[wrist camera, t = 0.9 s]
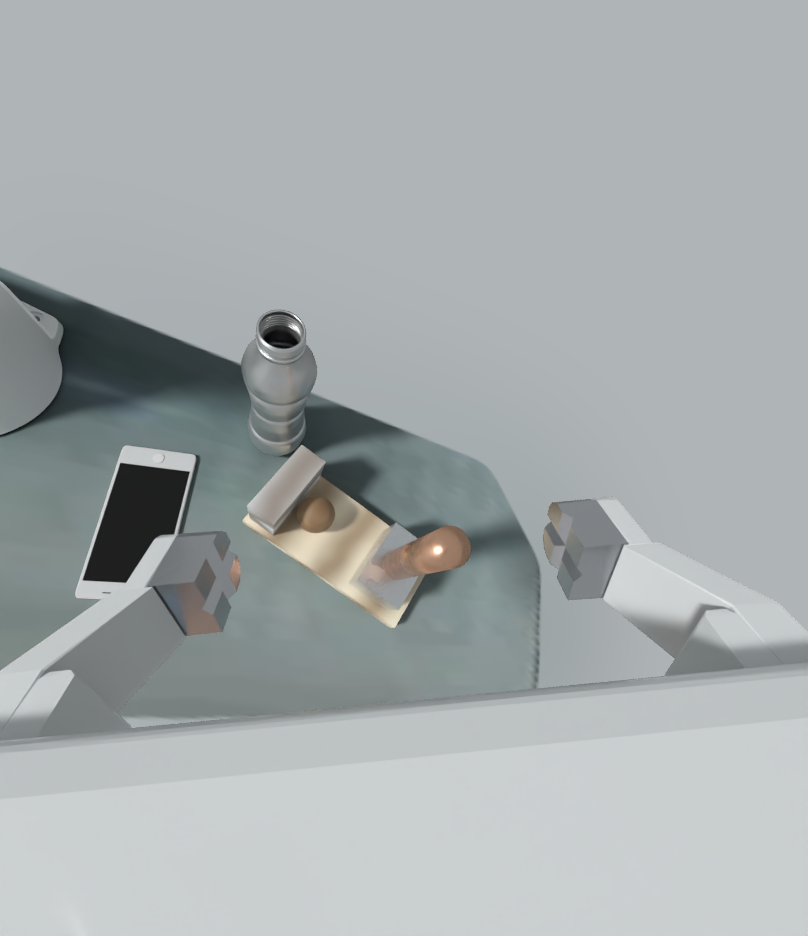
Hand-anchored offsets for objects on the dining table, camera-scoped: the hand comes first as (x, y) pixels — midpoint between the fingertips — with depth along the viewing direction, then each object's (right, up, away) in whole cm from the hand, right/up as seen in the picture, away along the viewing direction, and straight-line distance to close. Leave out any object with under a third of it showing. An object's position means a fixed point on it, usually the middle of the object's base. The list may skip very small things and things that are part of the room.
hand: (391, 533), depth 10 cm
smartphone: (-27, -4, +30) cm, 41 cm away
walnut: (-10, -4, +33) cm, 35 cm away
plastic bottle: (-15, +6, +37) cm, 41 cm away
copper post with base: (-2, -10, +34) cm, 35 cm away
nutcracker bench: (-7, -7, +35) cm, 37 cm away
